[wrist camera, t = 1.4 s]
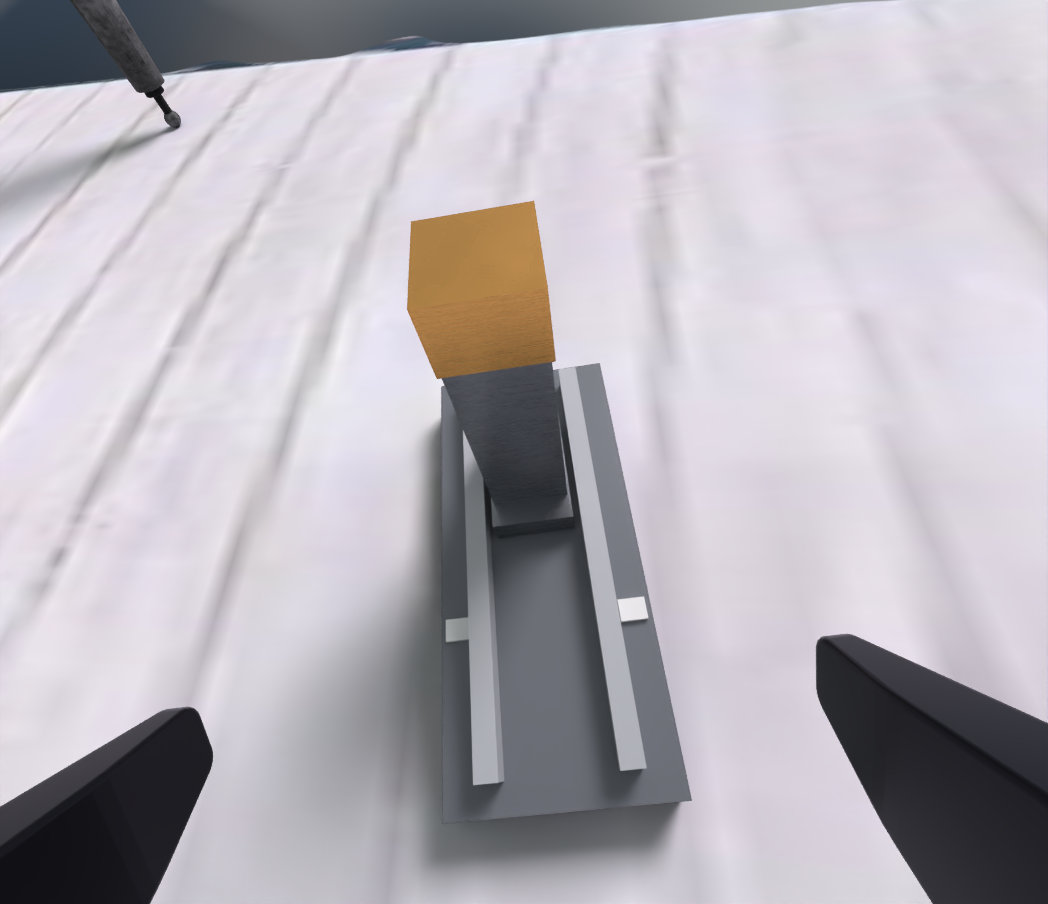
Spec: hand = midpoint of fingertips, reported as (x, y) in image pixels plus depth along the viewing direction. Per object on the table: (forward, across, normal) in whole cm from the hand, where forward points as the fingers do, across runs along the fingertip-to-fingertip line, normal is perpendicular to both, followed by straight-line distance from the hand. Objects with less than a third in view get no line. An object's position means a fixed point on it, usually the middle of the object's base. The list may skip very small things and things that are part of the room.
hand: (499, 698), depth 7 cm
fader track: (+14, 0, +5) cm, 15 cm away
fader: (+15, 0, +2) cm, 15 cm away
